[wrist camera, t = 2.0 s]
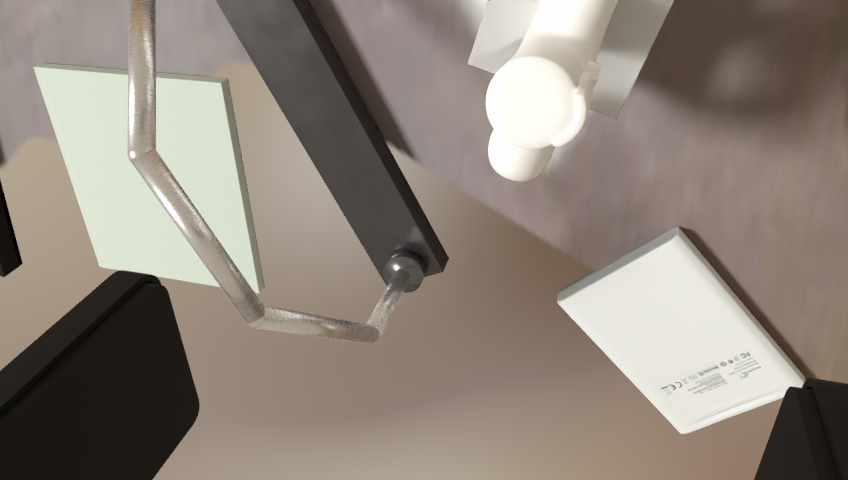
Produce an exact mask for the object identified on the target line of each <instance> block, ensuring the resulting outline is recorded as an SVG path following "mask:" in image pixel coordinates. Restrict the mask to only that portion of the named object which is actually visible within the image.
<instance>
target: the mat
mask: <svg viewBox="0 0 848 480" xmlns="http://www.w3.org/2000/svg"><path fill="white" fill-rule="evenodd" d="M34 70H35V73H36V76H37V79H38V82H39V85H40V88H41V91H42V94H43V97H44V100H45V103H46V106H47V109H48V112H49V115H50V118H51V121H52V124H53V127H54V130H55V133H56V136H57V140H58V143H59V146H60V149H61V151H62V155H63V158H64V160H65V164H66V166H67V169H68V173H69V176H70V179H71V182H72V184H73V188H74V190H75V194H76V197H77V200H78V203H79V206H80V209H81V212H82V215H83V218H84V220H85V224H86V227H87V230H88V233H89V236H90V239H91V242H92V245H93V248H94V251H95V254H96V257H97V260H98V263H99V266H100V267H104V268H110V269H117V270H125V271H132V272H138V273H145V274H151V275H154V276H158V277H164V278H170V279H177V280H182V281H188V282H194V283H200V284H206V285H212V286H218V287H220V286H219V284H218V283H217V281H216V280H215V279H214V277H213V276H212V274H211V273H210V272H209V270H208V269H207V267H206V266H205V265H204V263H203V262H202V260H201V259H200V258H199V256H198V255H197V253H196V252H195V251H194V249H193V248H192V246H191V245H190V244H189V242H188V241H187V240H186V238H185V237H184V235H183V234H182V233H181V231H180V230H179V228H178V227H177V226H176V224H175V223H174V221H173V220H172V219H171V217H170V216H169V214H168V213H167V212H166V210H165V209H164V207H163V206H162V205H161V203H160V202H159V200H158V199H157V198H156V196H155V195H154V193H153V192H152V191H151V189H150V188H149V186H148V185H147V184H146V182H145V181H144V179H143V178H142V177H141V175H140V174H139V172H138V171H137V170H136V168H135V167H134V165H133V164H132V163H131V161H130V160H129V158H128V153H127V152H128V70H121V69H109V68H97V67H85V66H74V65H62V64H50V63H41V64H39V65H37V66H34ZM156 151H157V152H158V154H159V155H160V156H161V158H162V159H163V161H164V162H165V164H166V165H167V167H168V168H169V169H170V171H171V172H172V174H173V175H174V177H175V178H176V180H177V181H178V182H179V184H180V185H181V187H182V188H183V190H184V191H185V193H186V194H187V195H188V197H189V198H190V200H191V201H192V203H193V204H194V206H195V207H196V208H197V210H198V211H199V213H200V214H201V216H202V217H203V219H204V220H205V221H206V223H207V224H208V226H209V227H210V229H211V230H212V231H213V233H214V234H215V236H216V237H217V239H218V240H219V242H220V243H221V244H222V246H223V247H224V249H225V250H226V252H227V253H228V255H229V256H230V257H231V259H232V260H233V262H234V263H235V265H236V266H237V268H238V269H239V270H240V272H241V273H242V275H243V276H244V278H245V279H246V281H247V282H248V283H249V285H250V286H251V288H252V289H253V291H254V292H255V293H260V292H261V291H262V289H263V288H264V280H263V275H262V269H261V264H260V258H259V252H258V247H257V241H256V235H255V229H254V224H253V218H252V213H251V207H250V201H249V195H248V189H247V184H246V178H245V172H244V167H243V161H242V155H241V150H240V144H239V139H238V133H237V127H236V121H235V116H234V110H233V104H232V99H231V93H230V87H229V81H228V79H227V78H217V77H205V76H193V75H181V74H169V73H157V72H156Z"/></svg>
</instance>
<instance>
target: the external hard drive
mask: <svg viewBox="0 0 848 480" xmlns="http://www.w3.org/2000/svg"><path fill="white" fill-rule="evenodd" d="M557 302H558V304H559V305H560V306H561V307H562V308H563V309H564V310H565V311H566V312H567V313H568V315H569V316H570V317H571V318H572V319H573V320H574V321H575V322H576V323H577V324H578V325H579V326H580V327H581V328H582V329H583V330H584V331H585V333H586V334H587V335H588V336H590V338H591V339H592V340H593V341H594V342H595V343H596V344H597V345H598V346H599V347H600V348H601V349H602V350H603V352H604V353H605V354H606V355H607V356H608V357H609V358H610V359H611V360H612V361H613V362H614V363H615V364H616V365H617V366H618V367H619V369H620V370H621V371H622V372H623V373H624V374H625V375H626V376H627V377H628V378H629V379H630V380H631V381H632V382H633V383H634V384H635V386H636V387H637V388H638V389H639V390H640V391H641V392H642V393H643V394H644V395H645V396H646V397H647V398H648V399H649V400H650V401H651V402H652V403H653V405H654V406H656V408H657V409H658V410H659V411H660V412H661V413H662V414H663V415H664V416H665V417H666V418H667V419H668V420H669V421H670V422H671V424H672V425H673V426H674V427H675V428H676V429H677V430H678V431H679V432H680V433H681V434H686V433H690V432H692V431H695V430H698V429H700V428H703V427H706V426H708V425H711V424H713V423H716V422H719V421H721V420H724V419H726V418H729V417H732V416H735V415H737V414H740V413H743V412H745V411H748V410H751V409H754V408H756V407H759V406H762V405H764V404H767V403H770V402H772V401H775V400H778V399H781V398H783V397H784V396H785V393H786V391H787V389H788V388H789V387H799V388H802V386H803V384H804V382H805V377H804V375H803V374H802V373H801V372H800V371H799V369H798V368H797V367H796V366H795V365H794V363H793V362H792V361H791V360H790V359H789V357H788V356H787V355H786V354H785V353H784V352H783V350H782V349H781V348H780V347H779V346H778V344H777V343H776V342H775V341H774V340H773V338H772V337H771V336H770V335H769V334H768V333H767V331H766V330H765V329H764V328H763V327H762V325H761V324H760V323H759V322H758V321H757V319H756V318H755V317H754V316H753V315H752V314H751V312H750V311H749V310H748V309H747V308H746V306H745V305H744V304H743V303H742V302H741V300H740V299H739V298H738V297H737V296H736V295H735V293H734V292H733V291H732V290H731V289H730V288H729V286H728V285H727V284H726V283H725V282H724V280H723V279H722V278H721V277H720V276H719V274H718V273H717V272H716V271H715V269H714V268H713V267H712V266H711V265H710V263H709V262H708V261H707V260H706V259H705V258H704V257H703V255H702V254H701V253H700V252H699V251H698V249H697V248H696V247H695V246H694V245H693V243H692V242H691V241H690V240H689V239H688V237H687V236H686V235H685V234H684V233H683V231H682V230H681V229H680V228H679V227H678V226H677V227H675V228H673V229H671V230H669V231H668V232H666V233H664V234H662V235H661V236H659V237H657V238H655V239H654V240H652V241H650V242H648V243H647V244H645V245H643V246H641V247H640V248H638V249H636V250H634V251H633V252H631V253H629V254H627V255H625V256H624V257H622V258H620V259H618V260H617V261H615V262H613V263H611V264H610V265H608V266H606V267H604V268H603V269H601V270H599V271H597V272H596V271H594V270H593V271H591V272H590V273H588V274H586V275H584V276H582V277H581V278H579V279H577V280H576V281H574V282H572V283H570V284H568V285H567V286H565V287H564V288H563V289H561V290H560V292H559V294H558V300H557Z"/></svg>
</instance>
